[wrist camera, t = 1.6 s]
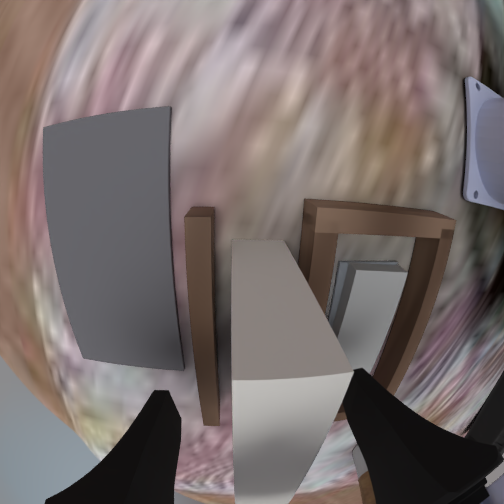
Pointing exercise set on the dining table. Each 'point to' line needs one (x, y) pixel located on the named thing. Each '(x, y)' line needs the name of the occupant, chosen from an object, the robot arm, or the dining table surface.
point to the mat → (115, 235)
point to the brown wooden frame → (324, 281)
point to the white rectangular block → (279, 373)
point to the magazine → (490, 419)
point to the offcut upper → (367, 310)
